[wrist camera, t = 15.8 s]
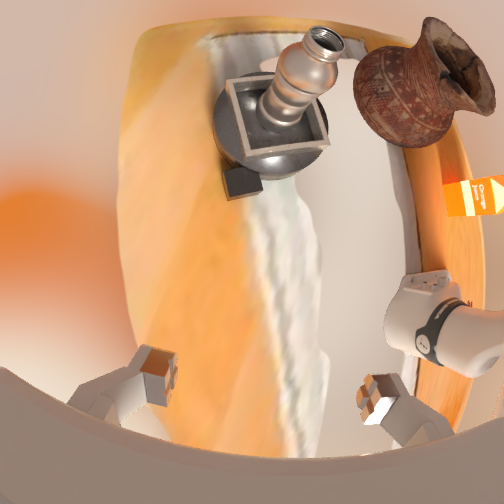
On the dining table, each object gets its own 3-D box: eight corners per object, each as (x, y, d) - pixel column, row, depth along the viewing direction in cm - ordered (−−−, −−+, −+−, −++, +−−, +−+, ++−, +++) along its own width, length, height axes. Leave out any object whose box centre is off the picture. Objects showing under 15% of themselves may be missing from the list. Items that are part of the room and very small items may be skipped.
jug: (381, 174, 47) (484, 143, 22) (318, 85, 44) (388, 6, 19) (431, 132, 49) (510, 103, 24) (381, 60, 46) (445, 7, 21)
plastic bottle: (271, 92, 37) (318, 8, 17) (303, 121, 38) (370, 51, 19) (243, 115, 37) (277, 28, 17) (276, 145, 38) (337, 76, 18)
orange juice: (442, 184, 50) (509, 172, 30) (460, 181, 51) (521, 171, 31) (448, 217, 50) (516, 214, 31) (466, 212, 52) (527, 208, 32)
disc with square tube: (300, 83, 43) (315, 61, 35) (330, 180, 45) (353, 170, 37) (202, 94, 40) (203, 69, 32) (227, 201, 42) (232, 193, 34)
